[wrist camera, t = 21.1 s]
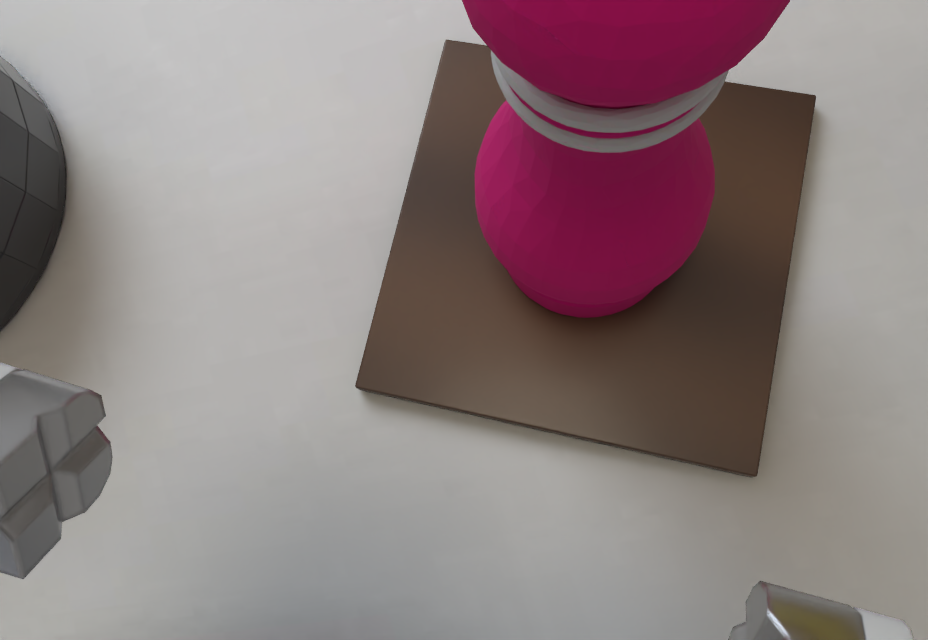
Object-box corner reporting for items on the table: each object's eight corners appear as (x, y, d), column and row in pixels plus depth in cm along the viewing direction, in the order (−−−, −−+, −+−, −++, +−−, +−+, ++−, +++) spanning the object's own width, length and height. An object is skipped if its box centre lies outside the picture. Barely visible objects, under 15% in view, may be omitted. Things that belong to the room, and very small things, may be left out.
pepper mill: (726, 276, 28) (1122, -241, 9) (540, 367, 28) (515, 53, 9) (628, 109, 30) (771, -629, 10) (452, 194, 30) (269, -388, 10)
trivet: (753, 477, 27) (757, 477, 26) (358, 389, 29) (354, 387, 28) (811, 102, 30) (816, 94, 29) (447, 47, 32) (445, 38, 31)
